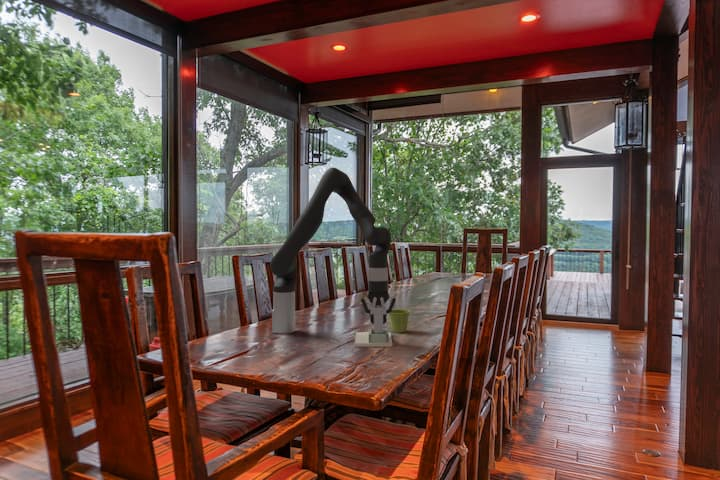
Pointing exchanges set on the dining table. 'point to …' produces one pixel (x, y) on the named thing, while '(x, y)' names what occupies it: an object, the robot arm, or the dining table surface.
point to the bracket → (378, 320)
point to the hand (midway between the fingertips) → (378, 323)
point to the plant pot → (399, 320)
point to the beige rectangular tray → (373, 339)
